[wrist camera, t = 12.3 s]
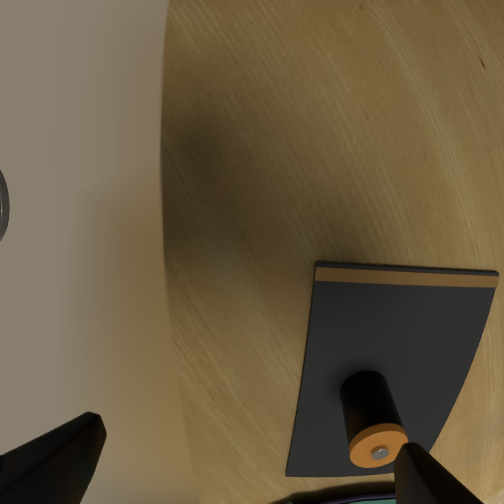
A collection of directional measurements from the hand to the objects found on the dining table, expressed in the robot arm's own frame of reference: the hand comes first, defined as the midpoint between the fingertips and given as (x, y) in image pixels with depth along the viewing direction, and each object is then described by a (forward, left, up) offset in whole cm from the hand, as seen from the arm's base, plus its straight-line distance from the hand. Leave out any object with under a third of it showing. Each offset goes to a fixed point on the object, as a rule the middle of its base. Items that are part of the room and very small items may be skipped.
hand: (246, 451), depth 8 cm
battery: (+7, -7, -12) cm, 15 cm away
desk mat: (+9, -8, -12) cm, 17 cm away
